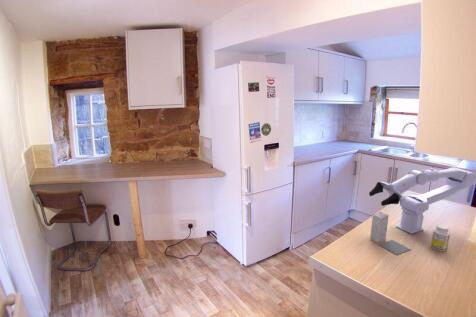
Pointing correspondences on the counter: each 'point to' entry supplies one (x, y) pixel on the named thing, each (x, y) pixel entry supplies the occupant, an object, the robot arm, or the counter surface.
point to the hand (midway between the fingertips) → (375, 199)
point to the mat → (394, 247)
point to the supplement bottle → (440, 238)
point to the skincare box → (379, 227)
